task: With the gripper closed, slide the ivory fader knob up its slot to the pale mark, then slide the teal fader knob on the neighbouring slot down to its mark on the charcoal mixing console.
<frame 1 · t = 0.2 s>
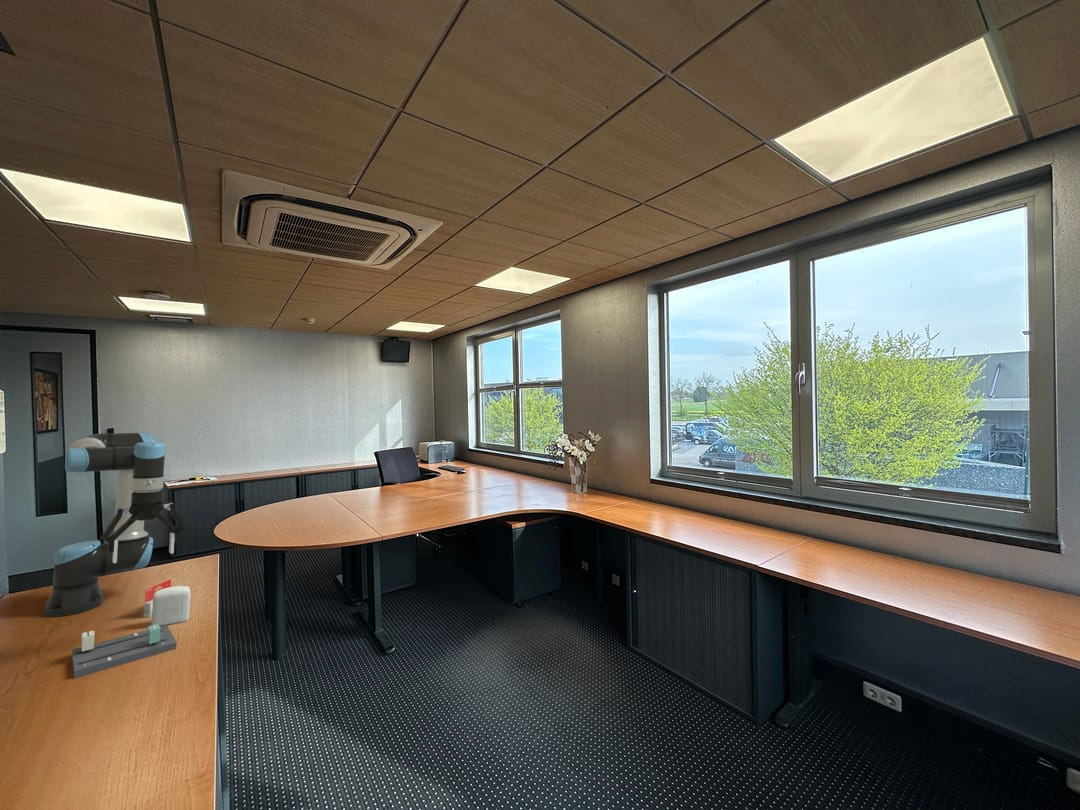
hand: (143, 557, 140), 27 cm above the table, fingers open, 13 cm apart
photo printer: (170, 623, 154), on the table
ivory fader: (87, 641, 132), point 5 cm above the table, slide at 1.0 cm
ink cartridge box: (159, 611, 163), on the table
console: (125, 652, 135), on the table
teal fader: (153, 634, 137), point 5 cm above the table, slide at 15.0 cm
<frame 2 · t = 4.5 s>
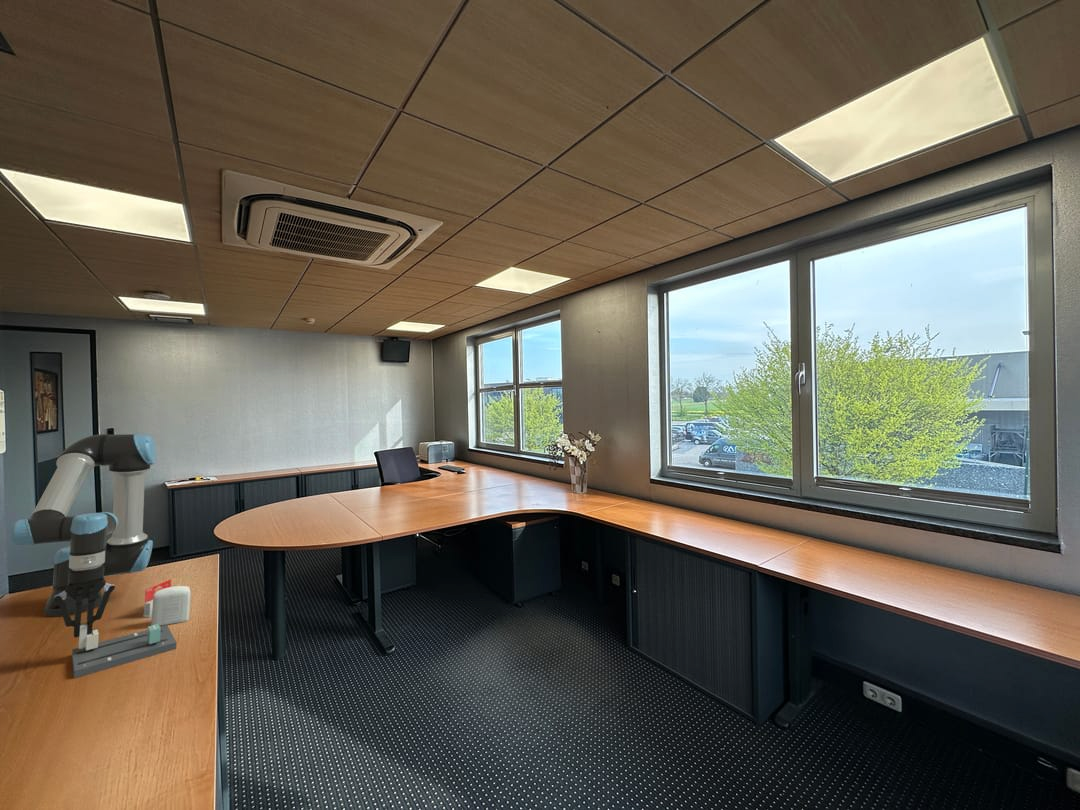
hand: (82, 646, 131), 4 cm above the table, fingers closed
ivory fader: (91, 640, 132), point 5 cm above the table, slide at 1.9 cm, touching gripper
everything else where it was.
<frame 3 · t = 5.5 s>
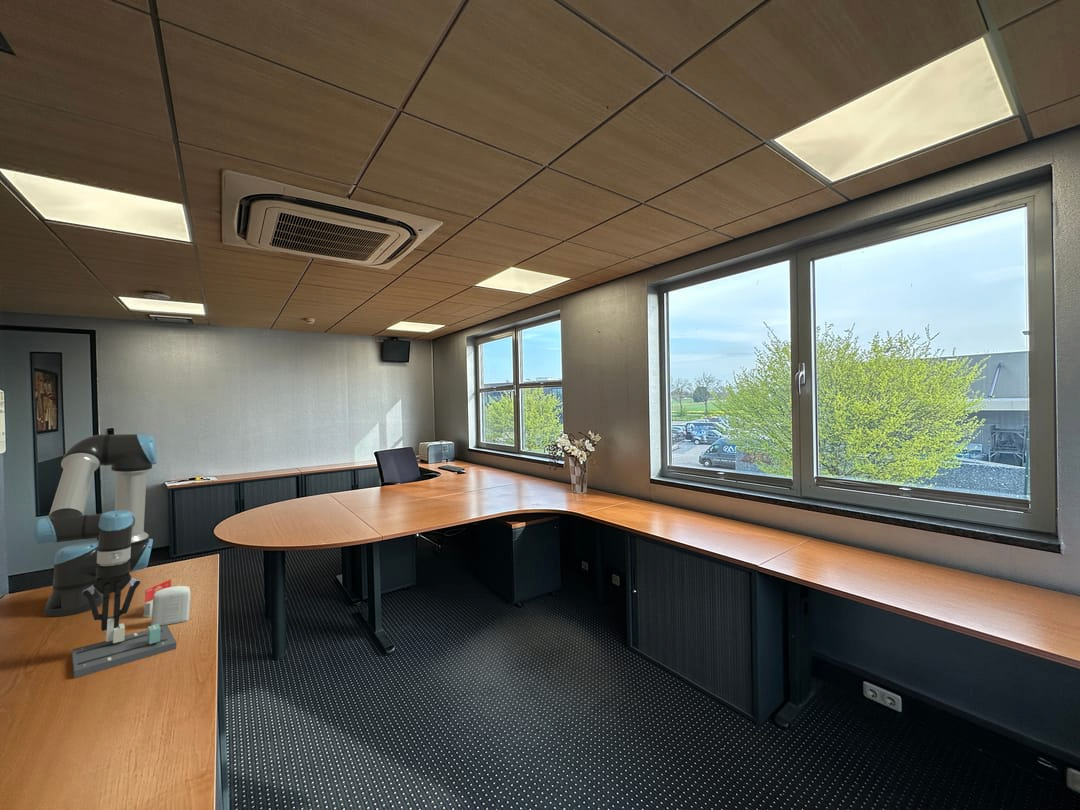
hand: (109, 639, 135), 4 cm above the table, fingers closed
ivory fader: (118, 633, 137), point 5 cm above the table, slide at 7.6 cm, touching gripper
everything else where it was.
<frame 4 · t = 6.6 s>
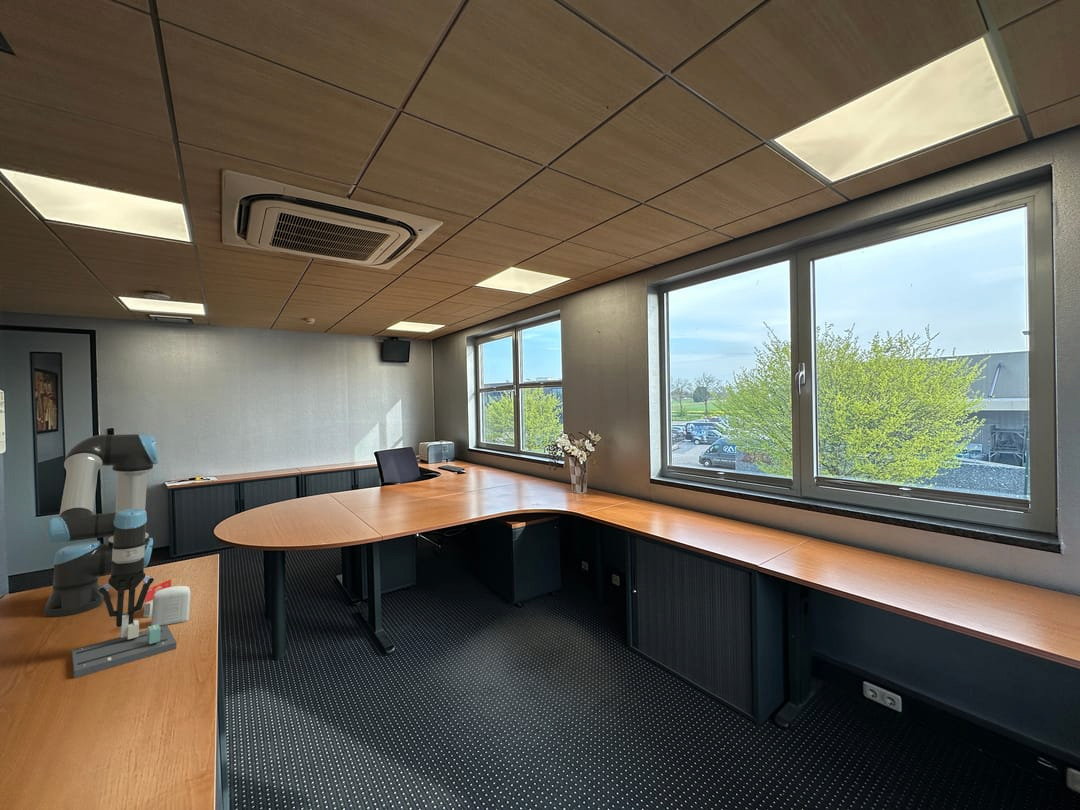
hand: (123, 635, 138), 4 cm above the table, fingers closed
ivory fader: (132, 630, 139), point 5 cm above the table, slide at 10.9 cm, touching gripper
everything else where it was.
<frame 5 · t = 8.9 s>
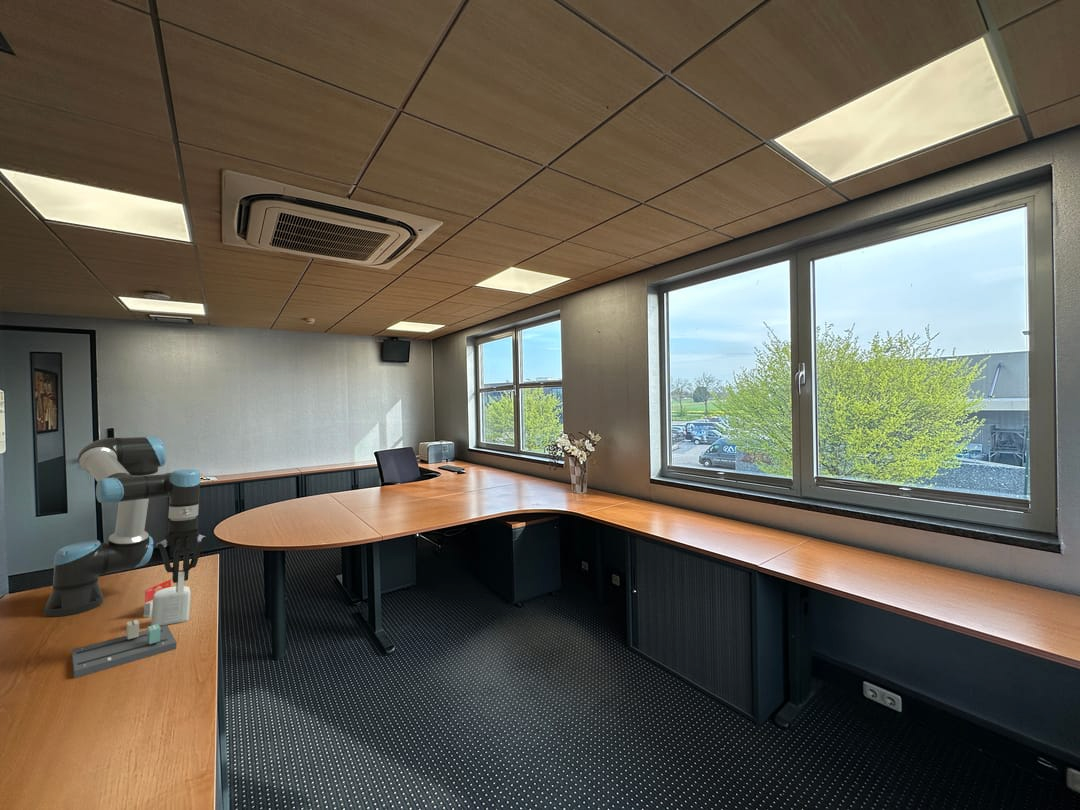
hand: (179, 591, 141), 16 cm above the table, fingers closed
ivory fader: (132, 630, 139), point 5 cm above the table, slide at 10.9 cm
everything else where it was.
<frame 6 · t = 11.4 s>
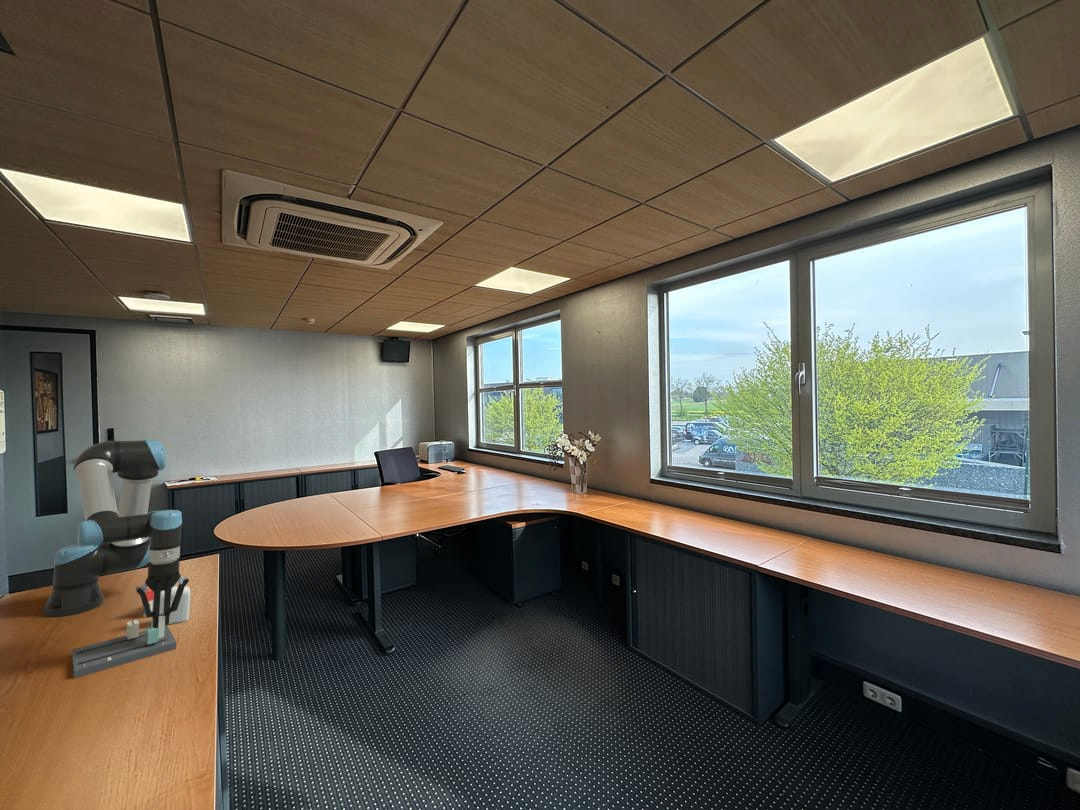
hand: (160, 636, 138), 4 cm above the table, fingers closed
teal fader: (152, 635, 136), point 5 cm above the table, slide at 14.6 cm, touching gripper
everything else where it was.
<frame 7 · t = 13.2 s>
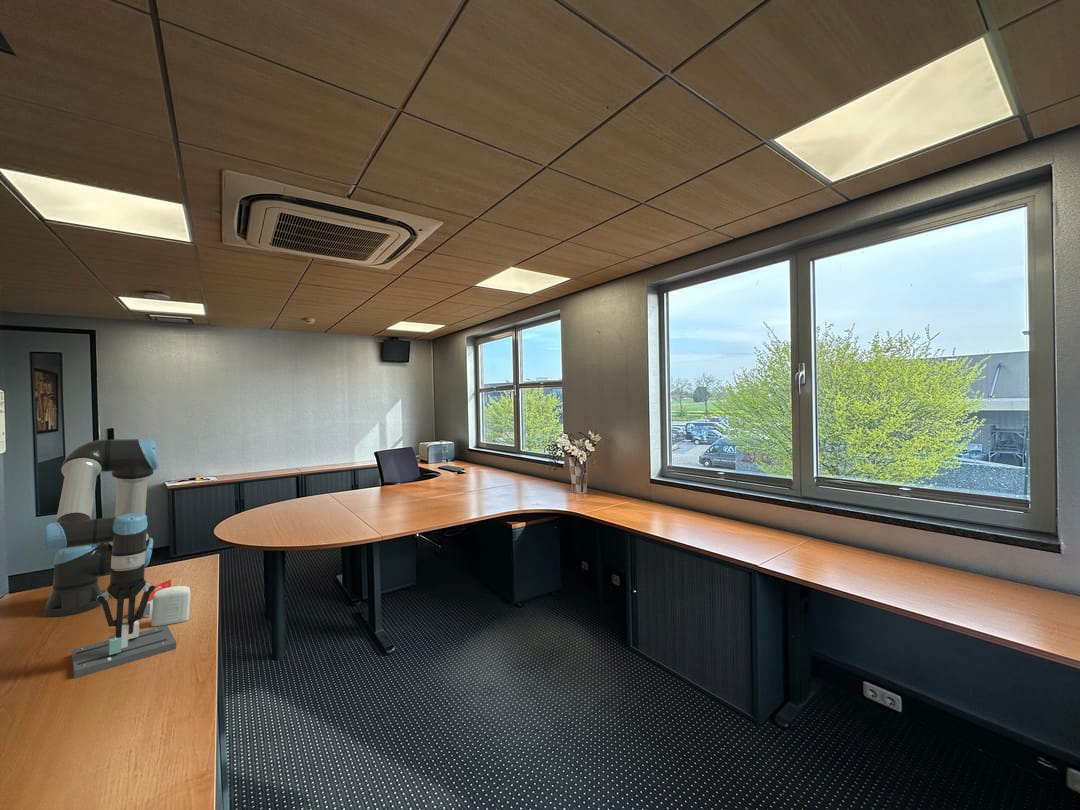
hand: (123, 645, 132), 4 cm above the table, fingers closed
teal fader: (114, 644, 130), point 5 cm above the table, slide at 6.2 cm, touching gripper
everything else where it was.
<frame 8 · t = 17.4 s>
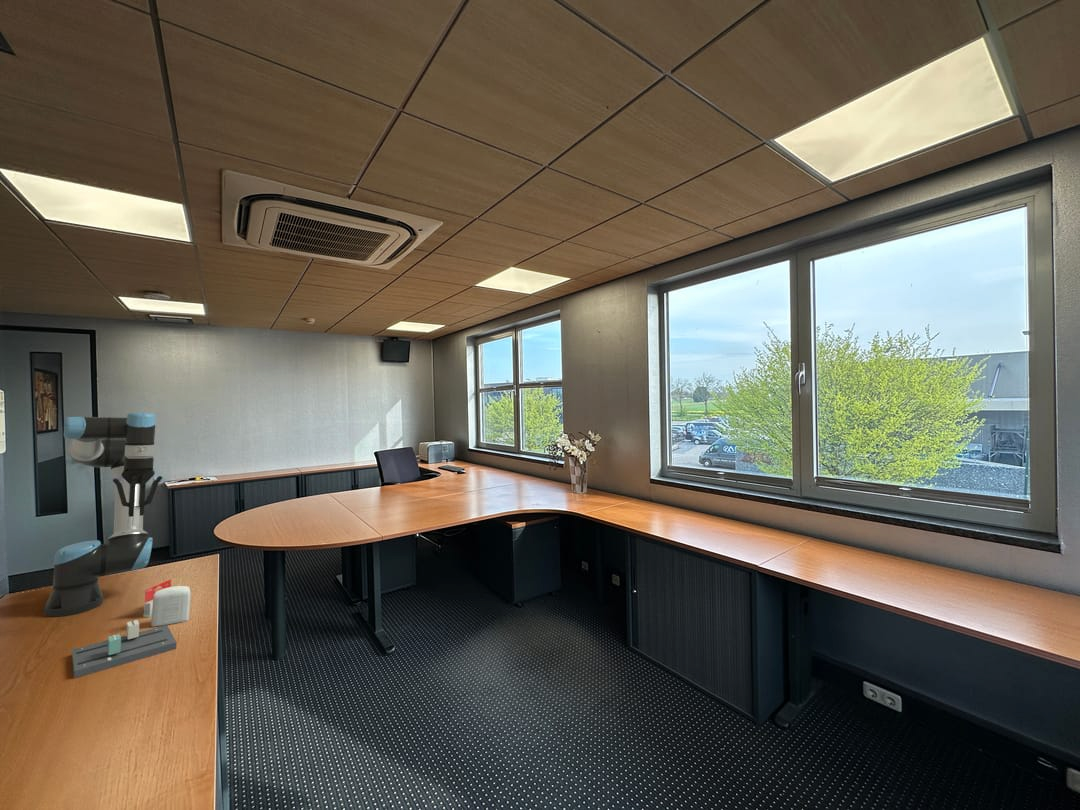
hand: (135, 525, 152), 34 cm above the table, fingers closed
teal fader: (114, 645, 130), point 5 cm above the table, slide at 6.1 cm
everything else where it was.
at the end: ivory fader slide at 10.9 cm; teal fader slide at 6.1 cm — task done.
